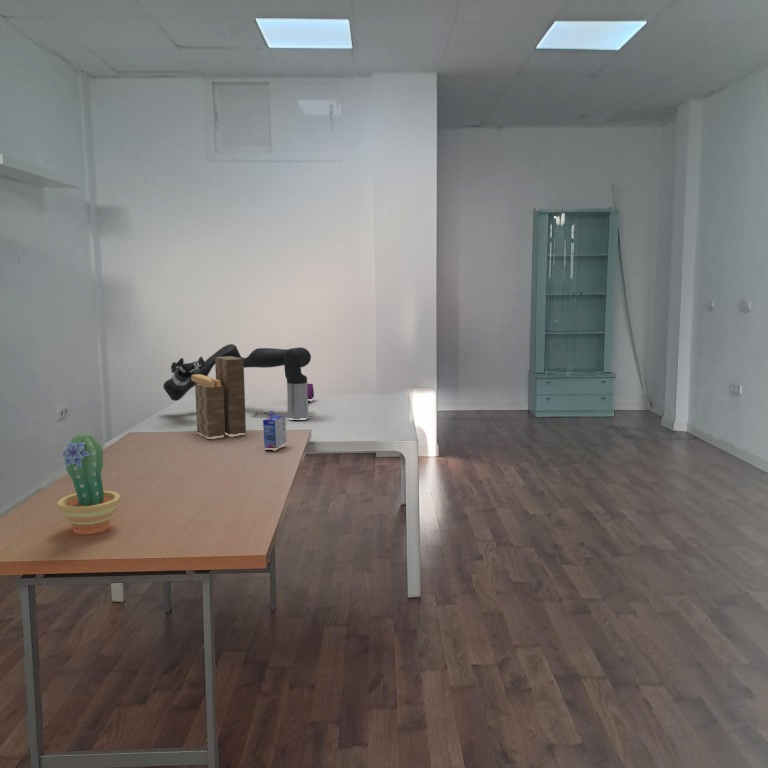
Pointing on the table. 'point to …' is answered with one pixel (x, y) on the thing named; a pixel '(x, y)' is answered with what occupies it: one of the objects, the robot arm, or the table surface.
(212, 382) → the slotted slat
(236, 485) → the table surface
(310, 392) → the mounting bracket
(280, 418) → the ink cartridge box
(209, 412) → the step stand
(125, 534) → the table surface
